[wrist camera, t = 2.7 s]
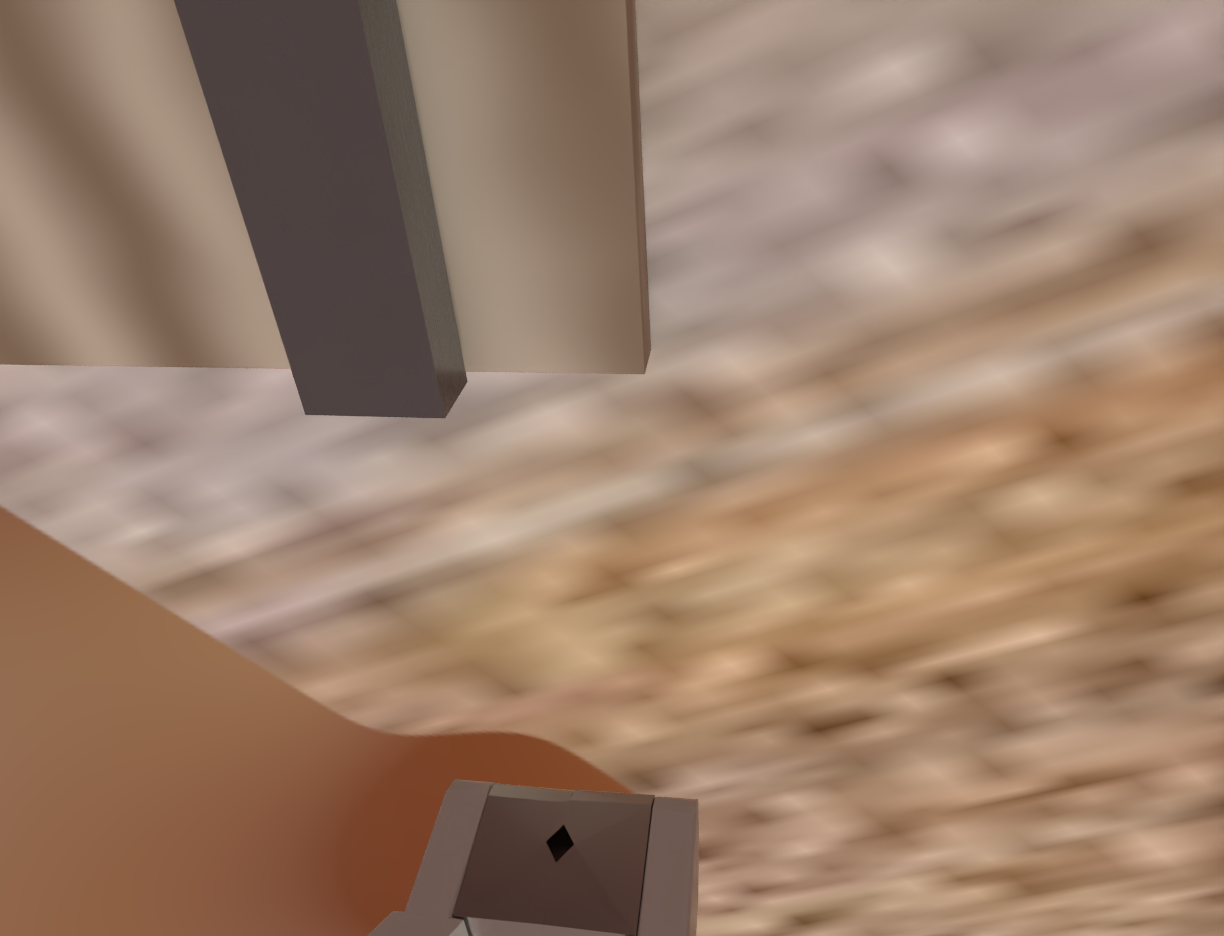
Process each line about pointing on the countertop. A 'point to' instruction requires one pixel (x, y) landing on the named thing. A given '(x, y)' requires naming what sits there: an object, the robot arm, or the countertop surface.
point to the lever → (334, 197)
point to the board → (213, 223)
